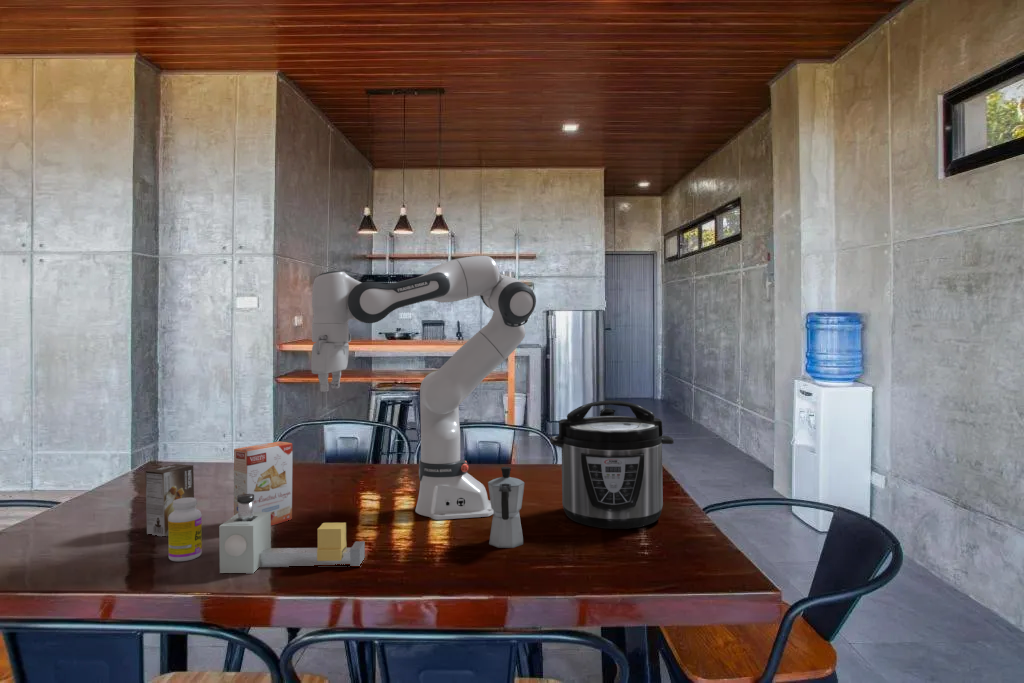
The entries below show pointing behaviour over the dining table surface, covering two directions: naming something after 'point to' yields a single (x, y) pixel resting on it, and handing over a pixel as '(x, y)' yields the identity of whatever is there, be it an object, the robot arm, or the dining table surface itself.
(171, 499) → the coffee box
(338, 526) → the rail carriage
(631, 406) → the pressure cooker
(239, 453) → the cracker box
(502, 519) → the coffee maker
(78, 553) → the dining table surface
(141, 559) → the dining table surface
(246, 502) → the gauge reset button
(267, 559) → the slide rail
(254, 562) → the cabinet
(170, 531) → the supplement bottle
